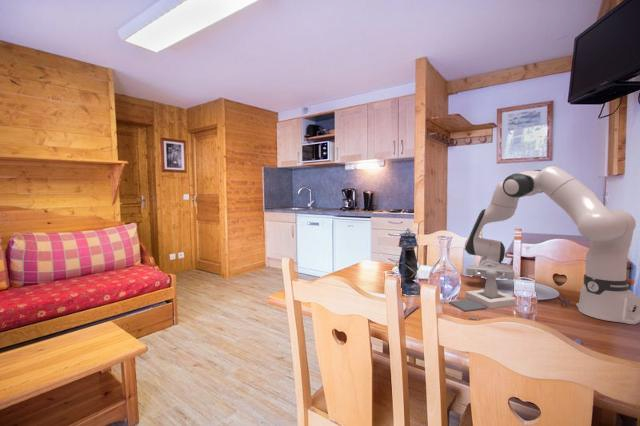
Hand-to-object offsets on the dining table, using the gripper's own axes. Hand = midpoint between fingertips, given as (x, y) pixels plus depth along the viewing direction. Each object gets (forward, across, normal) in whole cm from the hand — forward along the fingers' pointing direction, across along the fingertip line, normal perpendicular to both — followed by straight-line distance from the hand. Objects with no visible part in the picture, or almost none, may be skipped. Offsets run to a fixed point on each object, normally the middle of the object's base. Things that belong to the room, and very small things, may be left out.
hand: (490, 276), depth 142 cm
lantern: (+14, -34, +8) cm, 38 cm away
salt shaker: (+12, 0, +8) cm, 14 cm away
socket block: (+12, 0, +8) cm, 14 cm away
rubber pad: (+22, -9, +8) cm, 25 cm away
